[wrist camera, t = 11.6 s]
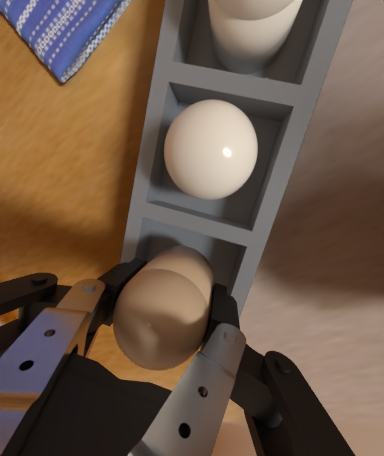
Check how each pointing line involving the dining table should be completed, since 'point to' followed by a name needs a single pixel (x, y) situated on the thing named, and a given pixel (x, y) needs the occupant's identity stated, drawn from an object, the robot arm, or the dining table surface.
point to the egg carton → (263, 125)
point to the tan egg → (165, 309)
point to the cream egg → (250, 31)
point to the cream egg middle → (210, 149)
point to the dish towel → (63, 29)
